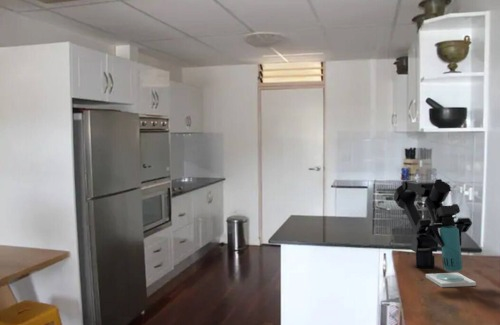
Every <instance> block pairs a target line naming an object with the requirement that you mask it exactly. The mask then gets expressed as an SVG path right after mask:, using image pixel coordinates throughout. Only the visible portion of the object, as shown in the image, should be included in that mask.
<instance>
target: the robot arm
mask: <svg viewBox="0 0 500 325" xmlns="http://www.w3.org/2000/svg"><path fill="white" fill-rule="evenodd" d="M450 192H451V185H449V184H448V183H447V182H446V181H443V180H442V179H441V178H440V179H435V180H434V182H418V181H416V180H404V181H402V183H401V185H400V186H399V187H397V188H396V189H395V192H394V194H393V199H394V202H395V203H396V205H397V206H398V207H399V208H401V209H402V210H403V211H404V212H405V215H406V217H407V219H408V222H409V223H410V225H411V227H412V229H413V232H414V235H413V239H412V242H411V244H410V247H411V251H412V252H414V253H415V268H420V269H421V268H422V269H423V268H424V269H434V267H435V254H434V253H435V252H436V253H437V252H438V248H439V247H438V246H440V247H443V246H444V244H443V241H442V239H441V237H440V231H439V230H440V229H441V228H442V227H443V226H455V227H457V228H458V229H459V239H460V247H462V233H467V232H468V231H469V229H470V228H471V226H472V224H473V222H472V220H471V219H470V218H469V217H458V218H457V219H456V220H455V223H454V224H442V218H443V217H454V216H456V215H457V214H459V213H460V212H461V209H460V206H459V205H458V203H452V204H451V205H444V204H443V202H445V201H446V199H447V197H448V195H449V194H450ZM417 197H420V198H425V200H424V204H423V207H424V208H426V209H427V212H428V214H429V216H428V219H423V218H422V217H421V215H420V213H419V211H418V209H417V207H416V205H415V201H416V198H417ZM433 252H434V253H433Z"/></svg>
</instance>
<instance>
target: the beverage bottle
mask: <svg viewBox="0 0 500 325" xmlns="http://www.w3.org/2000/svg"><path fill="white" fill-rule="evenodd" d="M455 222H456V220H455V217H454V216H452V217H443V218H442V224H454V223H455ZM439 234H440V237H441V239H442V241H443V244H444V246H443V247H441V246H440V247H441V256H442V258H441V259H442V267H443V269H444V270H445V271H448V272H460V271H462V270H463V268H464V267H463V259H462V257H463V256H462V249H461V246H460V239H459V229H458V228H457V227H455V226H443V227H442V228H441V229H439Z"/></svg>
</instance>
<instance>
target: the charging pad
mask: <svg viewBox="0 0 500 325" xmlns="http://www.w3.org/2000/svg"><path fill="white" fill-rule="evenodd" d="M425 279H427V280H429V281H431V282H433V283H434V284H435V285H438V286H439V287H441V288H451V287H452V288H454V287H472V286H474V287H475V286H477V282H476V281H474V280H473V279H471V278H469V277H467V276H465V275H463V274H461V273H460V272H439V273H425Z"/></svg>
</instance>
